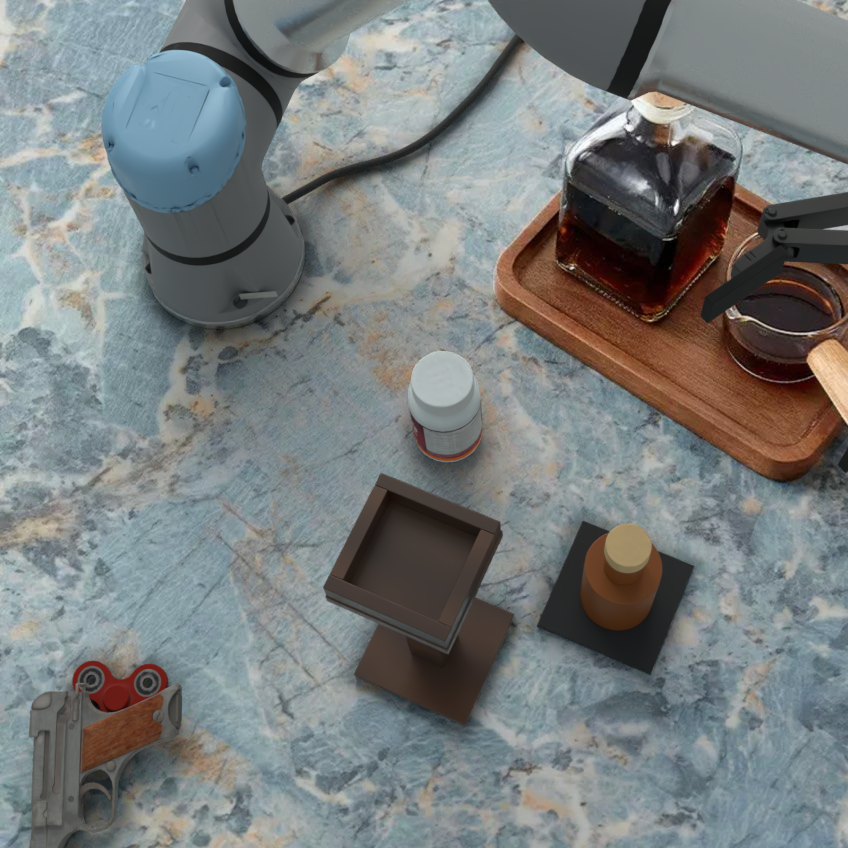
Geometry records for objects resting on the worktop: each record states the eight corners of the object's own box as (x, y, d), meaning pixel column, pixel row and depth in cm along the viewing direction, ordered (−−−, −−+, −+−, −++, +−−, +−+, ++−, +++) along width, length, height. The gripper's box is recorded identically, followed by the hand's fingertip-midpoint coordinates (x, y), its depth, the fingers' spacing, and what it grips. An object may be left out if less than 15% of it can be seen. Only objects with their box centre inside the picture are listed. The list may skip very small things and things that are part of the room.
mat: (582, 521, 112) (582, 520, 111) (693, 566, 109) (694, 565, 109) (537, 626, 108) (537, 625, 108) (650, 675, 106) (651, 674, 106)
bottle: (596, 550, 110) (605, 494, 98) (663, 577, 109) (681, 525, 96) (569, 613, 108) (575, 565, 96) (637, 642, 107) (652, 597, 94)
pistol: (183, 681, 106) (37, 684, 107) (177, 680, 104) (28, 683, 104) (179, 922, 103) (27, 925, 103) (172, 927, 100) (17, 930, 101)
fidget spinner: (118, 761, 106) (113, 760, 105) (50, 711, 108) (44, 709, 107) (177, 678, 108) (173, 676, 107) (109, 631, 110) (104, 628, 109)
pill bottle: (414, 401, 117) (404, 344, 107) (482, 400, 117) (479, 343, 106) (413, 465, 115) (403, 413, 104) (483, 464, 114) (479, 411, 104)
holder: (406, 570, 111) (376, 461, 88) (514, 616, 109) (512, 516, 86) (355, 677, 108) (310, 592, 85) (465, 727, 105) (450, 654, 82)
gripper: (1131, 369, 88) (893, 548, 84) (872, 128, 97) (647, 279, 93) (1182, 317, 81) (926, 509, 77) (899, 62, 90) (657, 222, 86)
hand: (773, 383), depth 85 cm, fingers open, 13 cm apart
